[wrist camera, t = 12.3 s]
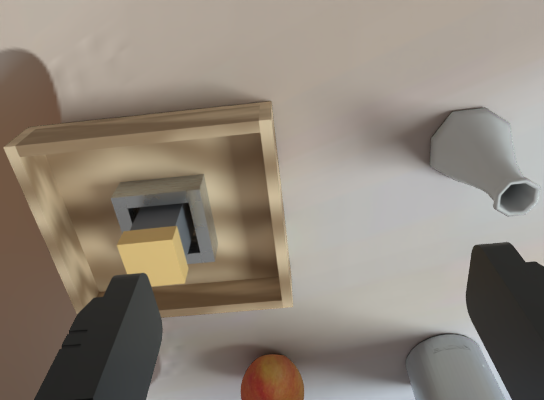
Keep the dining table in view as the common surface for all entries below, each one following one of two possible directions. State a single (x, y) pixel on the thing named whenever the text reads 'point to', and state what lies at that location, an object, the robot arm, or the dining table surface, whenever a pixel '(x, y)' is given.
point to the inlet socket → (171, 192)
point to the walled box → (152, 165)
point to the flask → (483, 159)
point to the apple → (272, 380)
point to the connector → (159, 243)
